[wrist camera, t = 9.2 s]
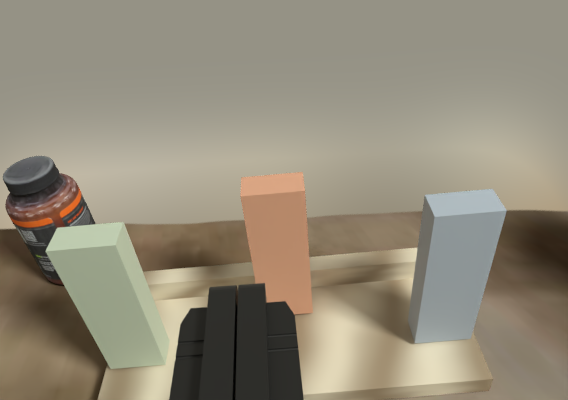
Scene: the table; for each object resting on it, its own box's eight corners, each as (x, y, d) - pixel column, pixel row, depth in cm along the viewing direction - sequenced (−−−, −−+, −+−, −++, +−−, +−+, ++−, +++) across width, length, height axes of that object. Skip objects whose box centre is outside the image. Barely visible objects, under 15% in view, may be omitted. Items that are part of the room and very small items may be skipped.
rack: (101, 422, 33) (83, 396, 31) (135, 290, 42) (124, 263, 40) (488, 390, 33) (499, 362, 30) (437, 264, 42) (442, 235, 40)
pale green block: (110, 369, 34) (45, 251, 27) (117, 345, 36) (57, 227, 28) (165, 364, 34) (115, 245, 27) (169, 340, 36) (123, 221, 28)
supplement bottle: (110, 237, 48) (70, 143, 41) (107, 279, 44) (62, 181, 37) (50, 250, 47) (-2, 156, 40) (40, 294, 43) (-20, 197, 36)
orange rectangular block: (261, 317, 37) (240, 196, 29) (261, 297, 38) (241, 177, 31) (312, 312, 37) (305, 190, 29) (310, 292, 38) (302, 172, 31)
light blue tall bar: (414, 343, 34) (434, 217, 26) (407, 320, 35) (424, 194, 28) (470, 338, 34) (506, 210, 26) (461, 315, 35) (492, 188, 28)
